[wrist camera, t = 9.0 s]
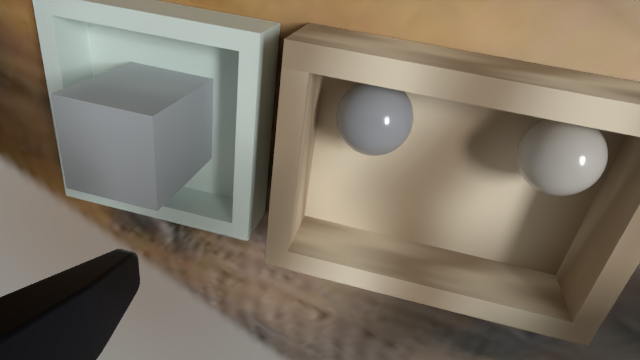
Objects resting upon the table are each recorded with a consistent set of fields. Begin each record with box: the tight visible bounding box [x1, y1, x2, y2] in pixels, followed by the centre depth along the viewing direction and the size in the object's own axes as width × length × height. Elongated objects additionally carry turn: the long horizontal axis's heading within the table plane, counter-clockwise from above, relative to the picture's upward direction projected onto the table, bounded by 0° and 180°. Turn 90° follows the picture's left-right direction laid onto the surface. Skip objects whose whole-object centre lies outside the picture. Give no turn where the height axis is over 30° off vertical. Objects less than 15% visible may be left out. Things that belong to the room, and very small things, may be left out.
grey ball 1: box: [336, 82, 414, 156], centre depth 18 cm, size 3×3×3 cm
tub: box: [32, 0, 280, 241], centre depth 21 cm, size 10×10×2 cm
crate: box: [264, 23, 640, 346], centre depth 19 cm, size 14×10×4 cm
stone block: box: [51, 62, 213, 211], centre depth 19 cm, size 4×4×5 cm
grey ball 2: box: [516, 118, 608, 196], centre depth 17 cm, size 3×3×3 cm
